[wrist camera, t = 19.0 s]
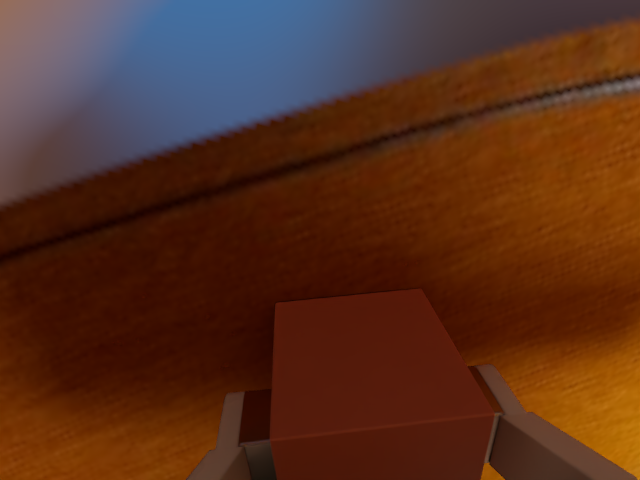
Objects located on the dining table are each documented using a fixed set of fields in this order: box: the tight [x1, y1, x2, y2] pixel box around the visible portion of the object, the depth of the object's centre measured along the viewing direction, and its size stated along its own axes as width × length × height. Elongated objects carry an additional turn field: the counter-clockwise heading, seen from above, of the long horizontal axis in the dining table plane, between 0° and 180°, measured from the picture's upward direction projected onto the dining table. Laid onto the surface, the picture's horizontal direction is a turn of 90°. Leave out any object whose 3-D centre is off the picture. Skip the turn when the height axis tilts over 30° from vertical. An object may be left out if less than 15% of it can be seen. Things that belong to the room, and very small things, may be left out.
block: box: [270, 288, 495, 480], centre depth 10 cm, size 4×4×4 cm
